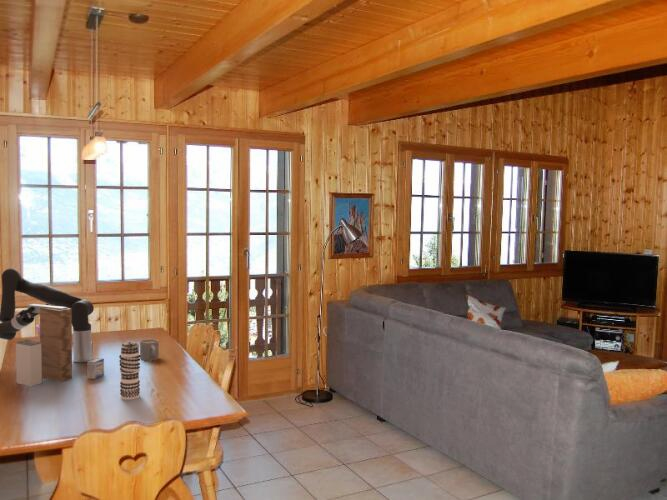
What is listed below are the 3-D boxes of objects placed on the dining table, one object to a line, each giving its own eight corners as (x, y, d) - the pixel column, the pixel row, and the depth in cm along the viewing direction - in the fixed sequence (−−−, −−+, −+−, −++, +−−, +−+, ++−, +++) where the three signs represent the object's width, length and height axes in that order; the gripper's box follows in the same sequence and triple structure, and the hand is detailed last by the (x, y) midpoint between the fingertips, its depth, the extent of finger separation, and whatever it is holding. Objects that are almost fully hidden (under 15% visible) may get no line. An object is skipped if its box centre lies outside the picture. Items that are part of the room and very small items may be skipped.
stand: (52, 373, 307) (51, 305, 304) (72, 378, 301) (71, 308, 298) (40, 377, 301) (39, 307, 298) (60, 381, 295) (59, 310, 292)
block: (27, 379, 296) (27, 339, 295) (41, 383, 292) (41, 342, 290) (16, 383, 291) (15, 342, 289) (30, 386, 287) (30, 344, 285)
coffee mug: (138, 357, 344) (138, 339, 343) (157, 355, 348) (157, 338, 347) (142, 363, 331) (142, 345, 331) (160, 361, 336) (160, 343, 335)
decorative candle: (128, 401, 269) (128, 345, 267) (114, 397, 274) (114, 342, 272) (144, 395, 277) (144, 342, 275) (131, 392, 282) (131, 339, 280)
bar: (33, 310, 306) (33, 303, 305) (67, 314, 299) (66, 307, 298) (27, 311, 302) (27, 304, 302) (61, 315, 295) (61, 308, 295)
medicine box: (95, 379, 300) (95, 362, 299) (87, 378, 301) (86, 361, 300) (104, 375, 308) (104, 358, 307) (96, 374, 309) (96, 357, 308)
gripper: (7, 315, 304) (25, 301, 297) (32, 310, 317) (50, 297, 310) (12, 328, 303) (31, 315, 296) (37, 323, 316) (56, 311, 309)
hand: (41, 306), depth 303 cm, fingers open, 8 cm apart
